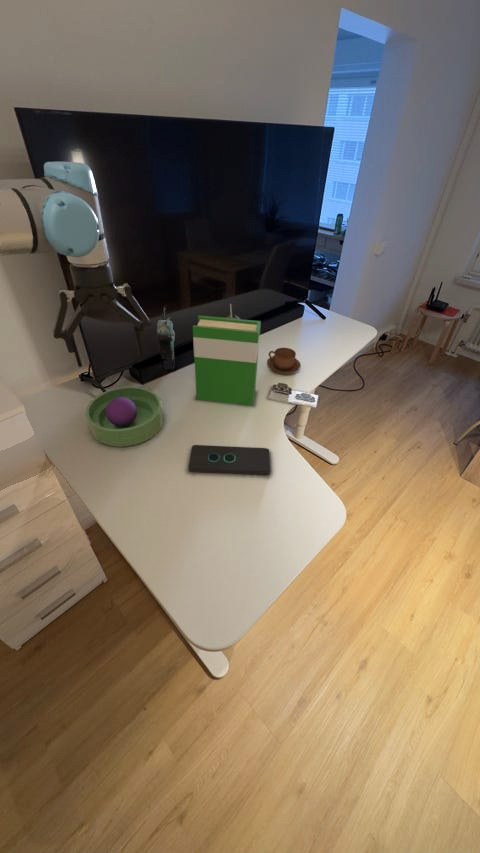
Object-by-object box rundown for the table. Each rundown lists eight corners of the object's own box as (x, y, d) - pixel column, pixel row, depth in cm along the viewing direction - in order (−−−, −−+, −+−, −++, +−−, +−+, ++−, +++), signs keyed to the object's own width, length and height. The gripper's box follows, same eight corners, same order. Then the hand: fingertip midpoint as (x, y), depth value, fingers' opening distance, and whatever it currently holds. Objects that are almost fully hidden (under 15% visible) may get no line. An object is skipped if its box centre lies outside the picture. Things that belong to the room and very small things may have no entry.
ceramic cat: (176, 372, 118) (170, 316, 105) (157, 372, 117) (149, 316, 104) (180, 345, 133) (176, 293, 120) (163, 344, 132) (157, 292, 119)
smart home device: (192, 443, 89) (269, 447, 89) (192, 448, 90) (268, 452, 90) (188, 467, 83) (270, 471, 83) (188, 472, 84) (269, 476, 84)
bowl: (75, 435, 92) (69, 418, 88) (120, 396, 106) (116, 380, 102) (137, 456, 87) (134, 439, 83) (175, 412, 101) (174, 396, 97)
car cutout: (268, 398, 108) (269, 386, 106) (272, 387, 113) (274, 375, 110) (315, 408, 106) (318, 396, 103) (318, 396, 111) (320, 384, 108)
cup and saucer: (264, 374, 119) (265, 358, 115) (268, 357, 128) (270, 342, 124) (298, 379, 118) (301, 363, 114) (300, 361, 127) (303, 346, 123)
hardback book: (196, 399, 107) (192, 326, 91) (201, 386, 112) (198, 315, 96) (252, 405, 105) (258, 332, 90) (255, 391, 111) (260, 321, 95)
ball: (108, 430, 95) (94, 410, 90) (124, 410, 100) (111, 389, 94) (131, 434, 92) (118, 413, 87) (146, 413, 97) (134, 392, 91)
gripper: (149, 253, 73) (159, 343, 87) (17, 261, 65) (52, 360, 79) (157, 263, 68) (167, 357, 82) (16, 273, 60) (53, 376, 73)
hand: (110, 359), depth 80 cm, fingers open, 13 cm apart
